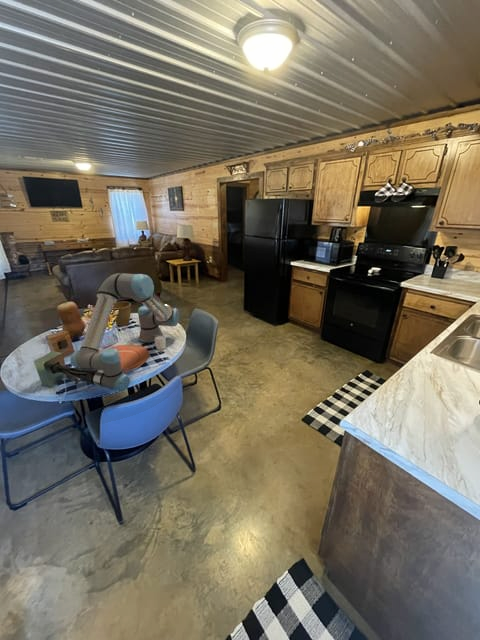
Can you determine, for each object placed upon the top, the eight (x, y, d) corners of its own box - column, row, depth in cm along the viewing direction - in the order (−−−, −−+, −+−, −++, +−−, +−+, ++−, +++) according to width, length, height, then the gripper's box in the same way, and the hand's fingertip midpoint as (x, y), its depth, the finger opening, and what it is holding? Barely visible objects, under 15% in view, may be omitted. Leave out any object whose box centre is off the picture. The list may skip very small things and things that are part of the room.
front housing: (68, 375, 138) (61, 352, 133) (51, 387, 129) (42, 363, 124) (60, 374, 140) (52, 351, 134) (42, 385, 131) (33, 361, 126)
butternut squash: (65, 335, 183) (55, 301, 173) (87, 331, 189) (78, 298, 179) (64, 343, 172) (54, 307, 162) (87, 338, 178) (78, 304, 168)
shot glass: (168, 345, 169) (167, 336, 166) (162, 350, 163) (161, 340, 160) (159, 344, 171) (158, 334, 168) (153, 349, 165) (151, 339, 162)
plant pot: (119, 320, 207) (115, 301, 201) (137, 321, 206) (134, 301, 200) (108, 328, 194) (104, 307, 187) (128, 329, 192) (124, 308, 186)
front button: (64, 370, 133) (61, 363, 131) (56, 374, 129) (54, 367, 128) (59, 369, 134) (57, 362, 132) (51, 373, 130) (49, 366, 128)
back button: (69, 347, 155) (67, 341, 153) (62, 349, 152) (60, 343, 150) (66, 345, 157) (64, 339, 155) (59, 348, 153) (57, 342, 152)
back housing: (74, 352, 161) (69, 332, 155) (57, 359, 153) (50, 338, 147) (69, 350, 164) (63, 329, 158) (52, 357, 156) (45, 336, 150)
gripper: (89, 392, 119) (50, 382, 126) (110, 376, 131) (73, 368, 137) (85, 378, 116) (45, 369, 123) (107, 363, 128) (70, 355, 134)
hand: (60, 369), depth 130 cm, fingers closed
